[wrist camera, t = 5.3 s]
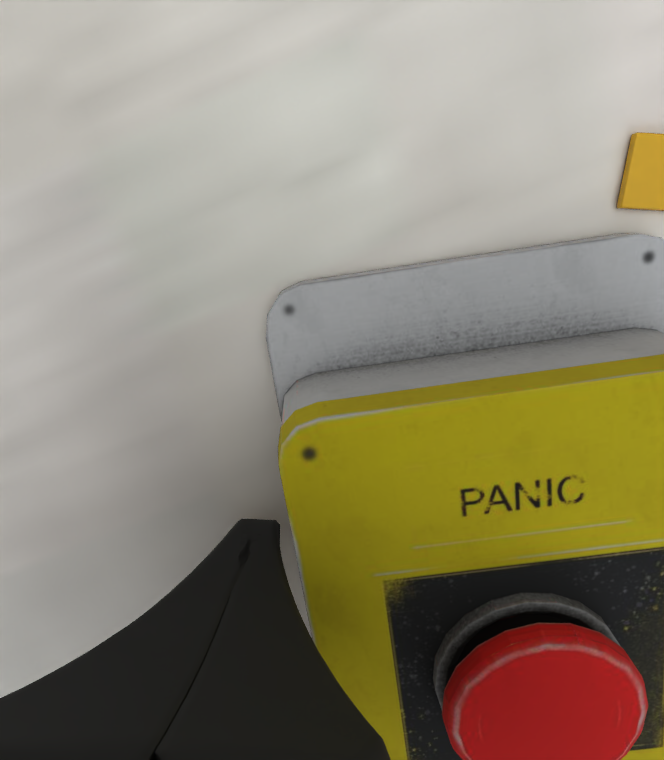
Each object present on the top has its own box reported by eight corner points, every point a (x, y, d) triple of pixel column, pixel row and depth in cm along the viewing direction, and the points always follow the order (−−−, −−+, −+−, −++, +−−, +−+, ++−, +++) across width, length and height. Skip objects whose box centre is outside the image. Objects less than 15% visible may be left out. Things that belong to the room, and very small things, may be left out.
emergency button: (353, 957, 11) (216, 312, 7) (347, 759, 15) (260, 287, 11) (767, 920, 11) (877, 214, 7) (644, 728, 15) (664, 226, 11)
